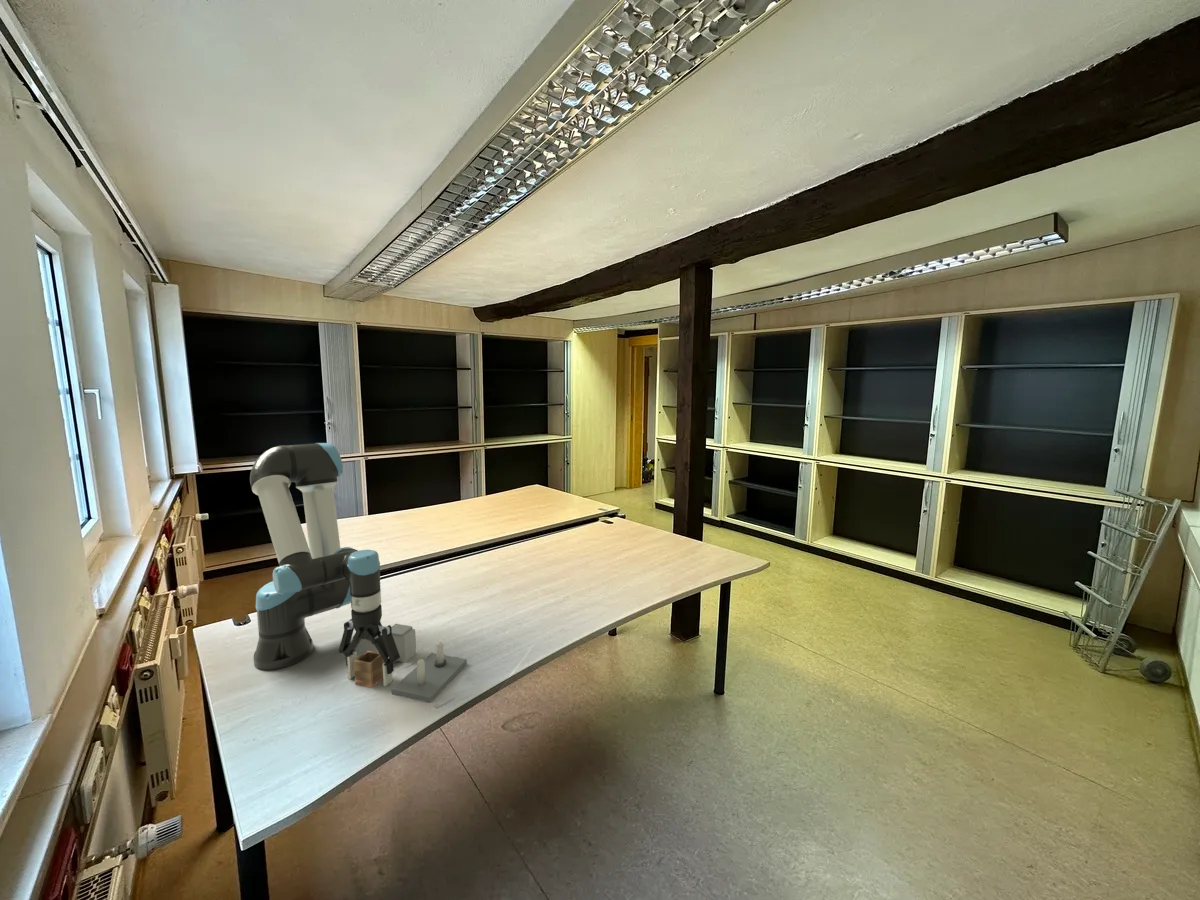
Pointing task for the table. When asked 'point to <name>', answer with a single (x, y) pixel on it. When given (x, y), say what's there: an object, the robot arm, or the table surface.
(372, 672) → the sleeve
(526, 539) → the table surface
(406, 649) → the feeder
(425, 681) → the pinboard
